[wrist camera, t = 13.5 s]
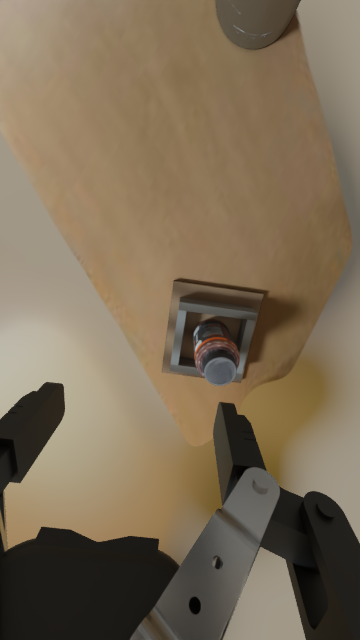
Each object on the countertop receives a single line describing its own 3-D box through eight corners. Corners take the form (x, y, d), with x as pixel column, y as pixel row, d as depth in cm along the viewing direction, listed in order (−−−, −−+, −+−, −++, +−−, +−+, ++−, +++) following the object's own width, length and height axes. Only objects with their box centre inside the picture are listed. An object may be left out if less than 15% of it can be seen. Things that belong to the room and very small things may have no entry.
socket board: (173, 280, 38) (172, 285, 34) (261, 292, 38) (270, 299, 35) (162, 369, 43) (159, 382, 39) (239, 379, 43) (244, 393, 40)
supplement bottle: (185, 330, 40) (185, 365, 29) (216, 311, 38) (228, 339, 28) (205, 357, 41) (212, 400, 30) (235, 339, 40) (254, 377, 29)
